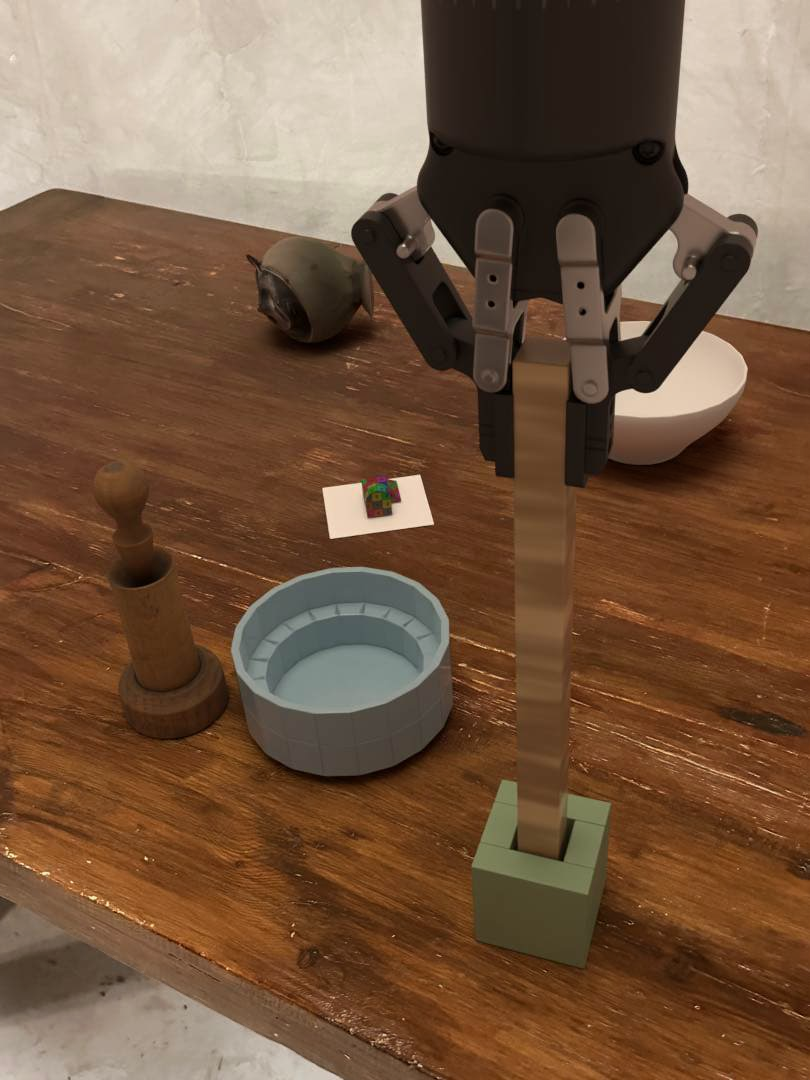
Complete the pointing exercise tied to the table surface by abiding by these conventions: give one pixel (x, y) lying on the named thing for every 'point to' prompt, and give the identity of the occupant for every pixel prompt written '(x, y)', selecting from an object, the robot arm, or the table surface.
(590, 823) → the stick holder
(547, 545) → the stick
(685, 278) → the robot arm
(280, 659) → the light blue round container
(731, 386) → the bowl
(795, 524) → the table surface
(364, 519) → the white board
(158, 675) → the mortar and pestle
